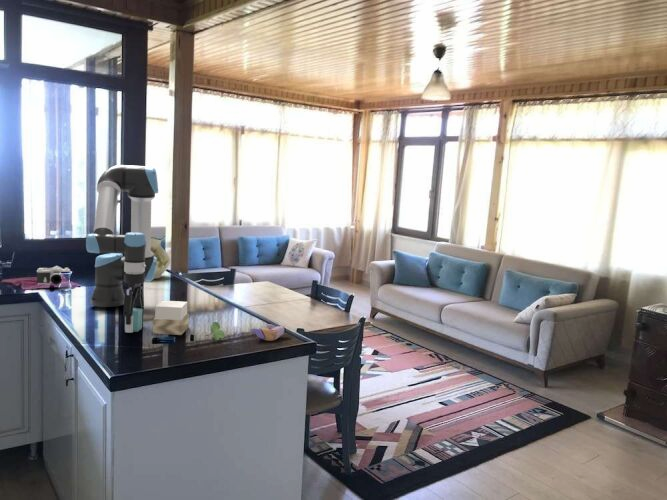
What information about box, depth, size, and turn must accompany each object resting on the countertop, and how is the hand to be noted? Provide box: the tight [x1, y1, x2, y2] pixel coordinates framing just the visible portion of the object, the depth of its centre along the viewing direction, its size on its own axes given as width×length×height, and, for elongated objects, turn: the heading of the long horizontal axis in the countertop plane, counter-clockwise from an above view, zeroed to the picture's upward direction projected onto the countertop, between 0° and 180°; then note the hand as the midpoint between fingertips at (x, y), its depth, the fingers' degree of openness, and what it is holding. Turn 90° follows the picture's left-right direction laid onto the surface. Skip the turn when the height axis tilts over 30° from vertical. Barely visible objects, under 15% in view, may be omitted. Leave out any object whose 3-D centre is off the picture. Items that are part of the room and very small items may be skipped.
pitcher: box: [150, 236, 171, 280], centre depth 317 cm, size 22×24×25 cm
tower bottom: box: [152, 313, 190, 336], centre depth 214 cm, size 11×11×6 cm
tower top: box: [154, 300, 188, 320], centre depth 213 cm, size 10×10×5 cm
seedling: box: [204, 321, 226, 341], centre depth 207 cm, size 7×8×6 cm
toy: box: [250, 323, 287, 342], centre depth 210 cm, size 9×6×15 cm
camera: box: [36, 265, 71, 285], centre depth 283 cm, size 16×9×10 cm, turn 117°
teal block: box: [127, 307, 143, 333], centre depth 211 cm, size 5×5×8 cm
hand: (133, 328), depth 212 cm, fingers open, 9 cm apart
